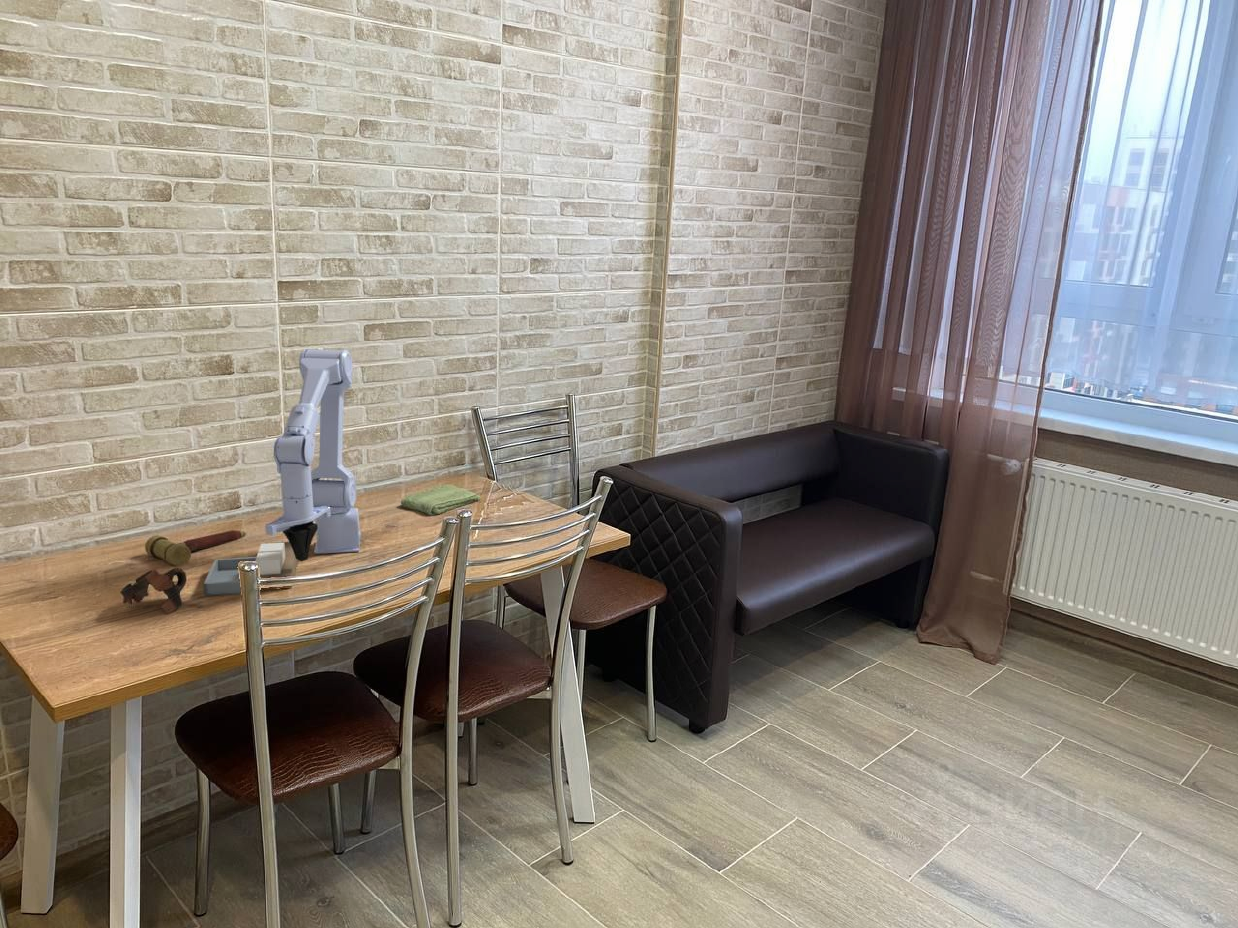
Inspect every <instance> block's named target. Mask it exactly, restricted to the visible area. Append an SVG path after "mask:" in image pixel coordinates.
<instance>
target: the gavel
mask: <svg viewBox="0 0 1238 928" xmlns="http://www.w3.org/2000/svg"><path fill="white" fill-rule="evenodd" d="M244 536H247V531H244V530H243V531H241V530H234V529H233V530H232V529H231V530H229V531H223V532H219V533H215V534H214V533H213V534H209V535H205V536H201V537H200V536H199V537H197V538H196V537H195V538H191V539H188V540H185V541H182V542H177V543H176V542H173V541H171V540H169V538H166V537H165V536H162V535H159V534H158V535H157V534H156V535H152V536H151V537H149V538H148V539H147V540H146V543H145V545H144V549H145V552H146V554H147V555H148V556H151V557H153V558H160V559H162V560H164V561H166V562H167V563H168V564H170V565H173V566H174V567H178V566H181V565H184V564H187V563H189V561H190V559H191V557H192V552H193V551H194V552H195V551H198V550H199V551H200V550H202V549H206V548H213V547H215V546H220V545H223V544H227V543H230V542H231V543H232V542H234V541H235V542H236V541H237V540H239V539H241V538H243V537H244Z"/></svg>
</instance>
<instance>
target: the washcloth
mask: <svg viewBox="0 0 1238 928" xmlns="http://www.w3.org/2000/svg"><path fill="white" fill-rule="evenodd" d="M481 498H482V497H481V496H480V495H478V494H476V493H475V492H472V491H469V490H467V489H465V488H463V487H456V486H454V485H453V484H445V485H437V486H434V487H432V488H430V489H429V488H427V489H426V490H424V491H420V492H415V493H412V494H409V495H406V496H404V497H403V498H402V499H401V500H400V505H401V506H402V507H404V508H407V509H411V510H413V511H418V512H421V513H422V514H426V515H429V516H437V515H440V514H445V513H447V512H449V511H453V510H455V509H458V508H460V507H464V506H465V505H469V504H471V503H475V502H478V501H479V500H481Z"/></svg>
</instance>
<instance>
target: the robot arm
mask: <svg viewBox="0 0 1238 928" xmlns="http://www.w3.org/2000/svg"><path fill="white" fill-rule="evenodd" d="M353 364H354V363H353V359H352V355H351V353H350V352H349V351H348V350H347V349H342V350H340V349H337V350H334V349H309V348H304V349H303V350H302V351H301V353H299V358H298V367H299V368H298V370H299V372H300V375H301V379H302V382H303V383H302V386H301V391H300V396H299V402H298V404H296V405H294V406H292V407H291V409H290V411H289V415H288V418H287V421H286V424H285V427H284V430H283V433H282V434H281V436H279V437H277V438H276V439H275V440H274V445H273V452H272V454H273V459H274V462H275V464H276V468H277V469H276V470H277V471H276V472H277V473H278V474H279V475H280V486H281V488H280V489H281V501H282V512H281V516H280V517H278V518H277V519H274V520H273V521H271V522H269V523H268V522H267V523H266V524H265V527H264V528H265V534H266V535H269V536H276V535H277V533H280V532H282V533H283V535H284V536H285V538H286V539H287V540H288V541H287V542H290V544H291V547H292V549H293V552H294V555H295V558H296V559H298V561H302V562H304V561H306V560H308V558H309V554H310V549H311V545H312V542H313V539H314V537H315V535H316V541H315V546H314V549H313V550H314V551H313V553H314V555H317V554H318V555H319V554H336V553H351V552H352V553H353V552H359V551H360V547H361V546H360V543H361V540H362V533H361V532H360V519H359V517H360V516H359V508H358V507H354V505H355V503H356V500H357V488H356V487H357V486H356V477H355V475H354V473H353V472H352V471H350V470H349V469H348V468H346V467H345V466H344V465H343V437H344V435H343V434H344V428H343V427H344V399H345V391H346V390H347V391H348V390H349V389H351V388H352V383H353V367H354V366H353ZM319 406H320V412H319V410H318V408H319ZM318 426H319V454H318V455H319V456H318V457H319V459H318V461H319V462H318V466H317V467H315V468H314V469H313V470H312V466H311V465H312V463H313V461H314V458H315V454H316V453H315V450H316V449H315V447H316V439H315V435H316V432H317V428H318ZM336 479H337V480H336ZM314 521H315V522H314Z"/></svg>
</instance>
